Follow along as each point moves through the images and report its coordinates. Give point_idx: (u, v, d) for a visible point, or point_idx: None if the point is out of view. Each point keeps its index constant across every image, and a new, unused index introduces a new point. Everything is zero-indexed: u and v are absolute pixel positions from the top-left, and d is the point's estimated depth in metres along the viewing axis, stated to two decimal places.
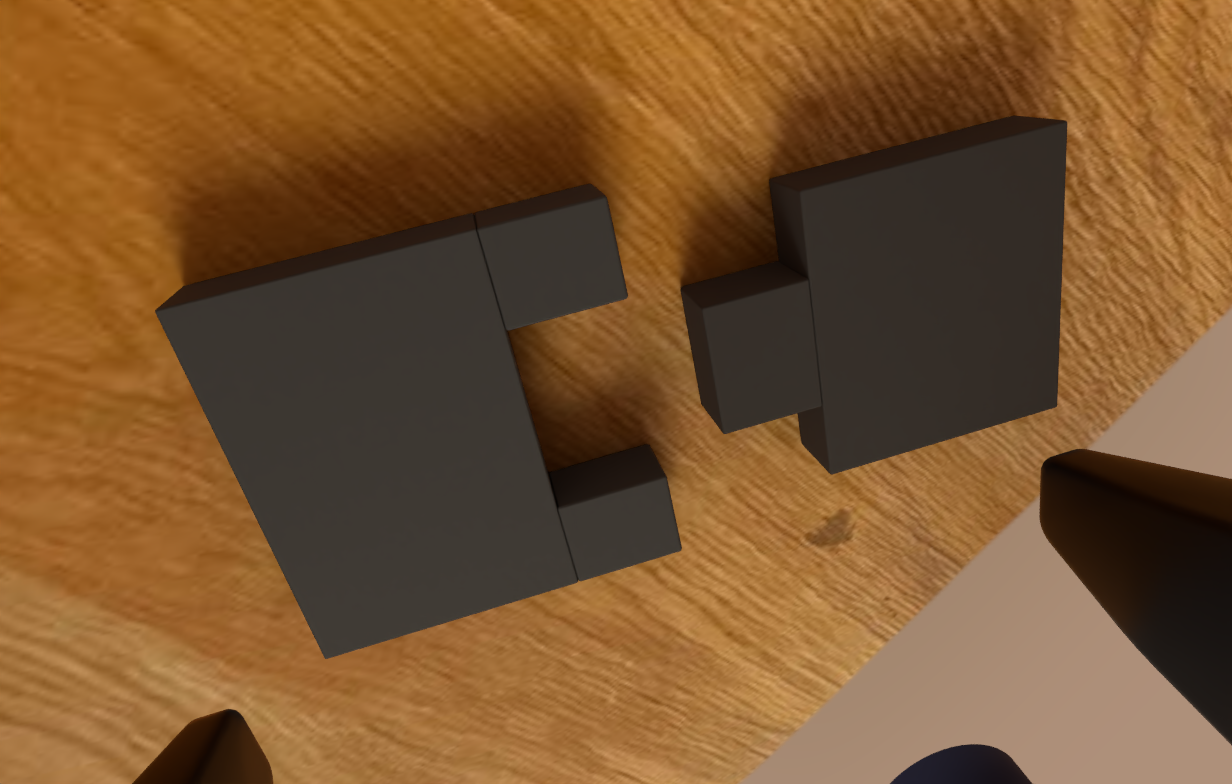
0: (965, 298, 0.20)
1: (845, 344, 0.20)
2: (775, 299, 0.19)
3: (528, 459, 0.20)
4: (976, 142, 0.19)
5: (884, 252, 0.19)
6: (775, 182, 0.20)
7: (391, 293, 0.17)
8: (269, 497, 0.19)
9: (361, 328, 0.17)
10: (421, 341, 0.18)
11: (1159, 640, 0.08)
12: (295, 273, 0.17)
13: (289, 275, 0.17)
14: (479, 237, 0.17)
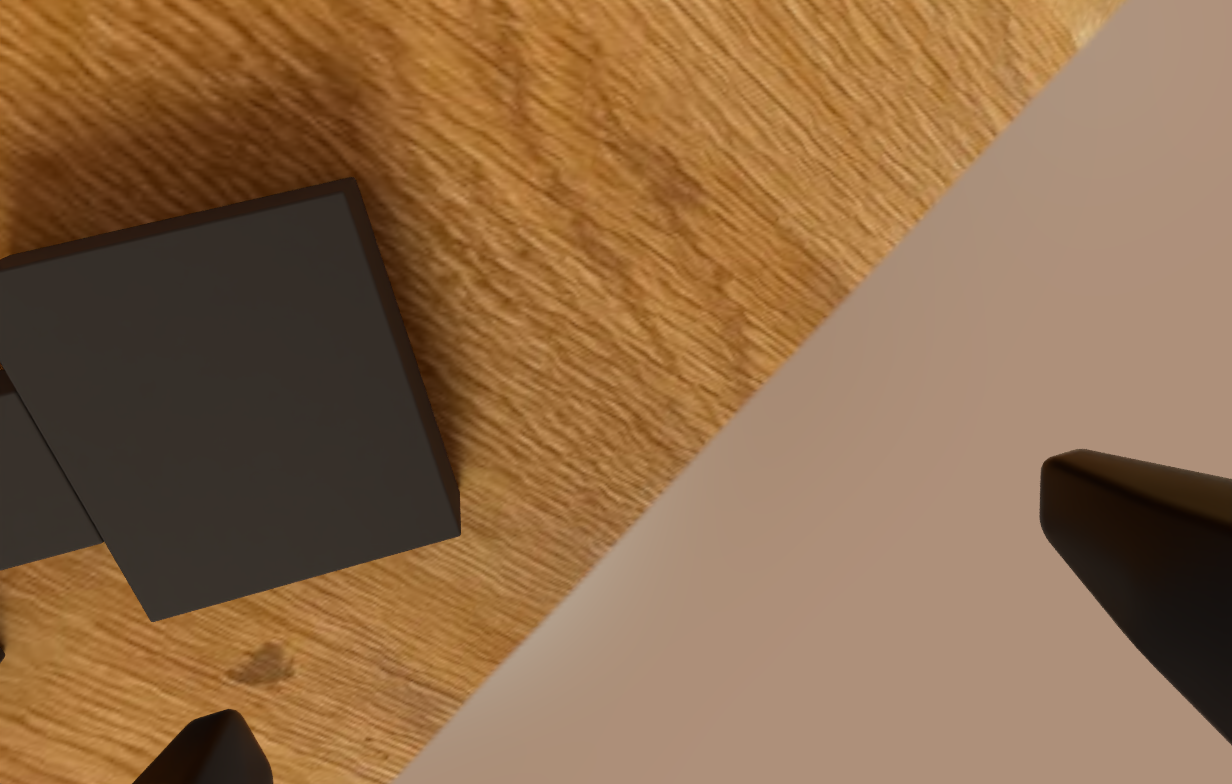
0: (270, 411, 0.16)
1: (105, 469, 0.16)
2: None
3: None
4: (218, 218, 0.14)
5: (121, 357, 0.15)
6: None
7: None
8: None
9: None
10: None
11: (1160, 640, 0.08)
12: None
13: None
14: None
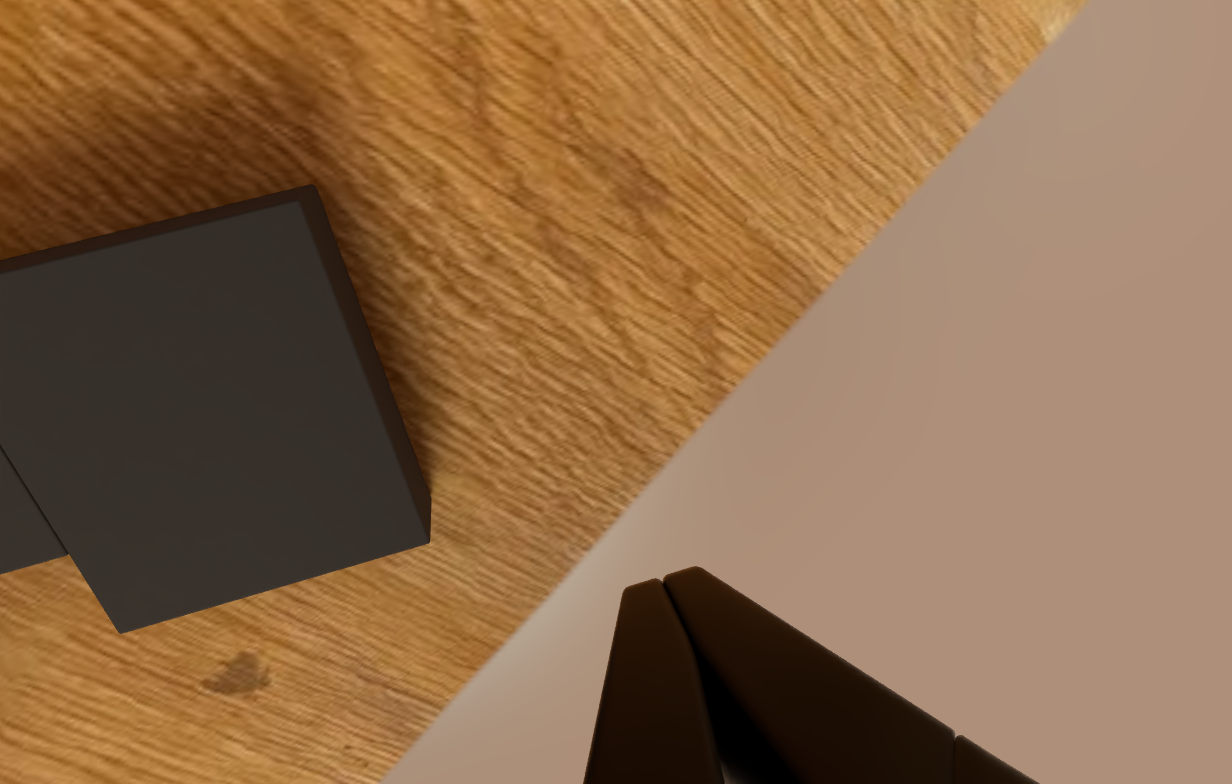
0: (232, 421, 0.16)
1: (67, 481, 0.16)
2: None
3: None
4: (172, 228, 0.14)
5: (79, 369, 0.15)
6: None
7: None
8: None
9: None
10: None
11: None
12: None
13: None
14: None
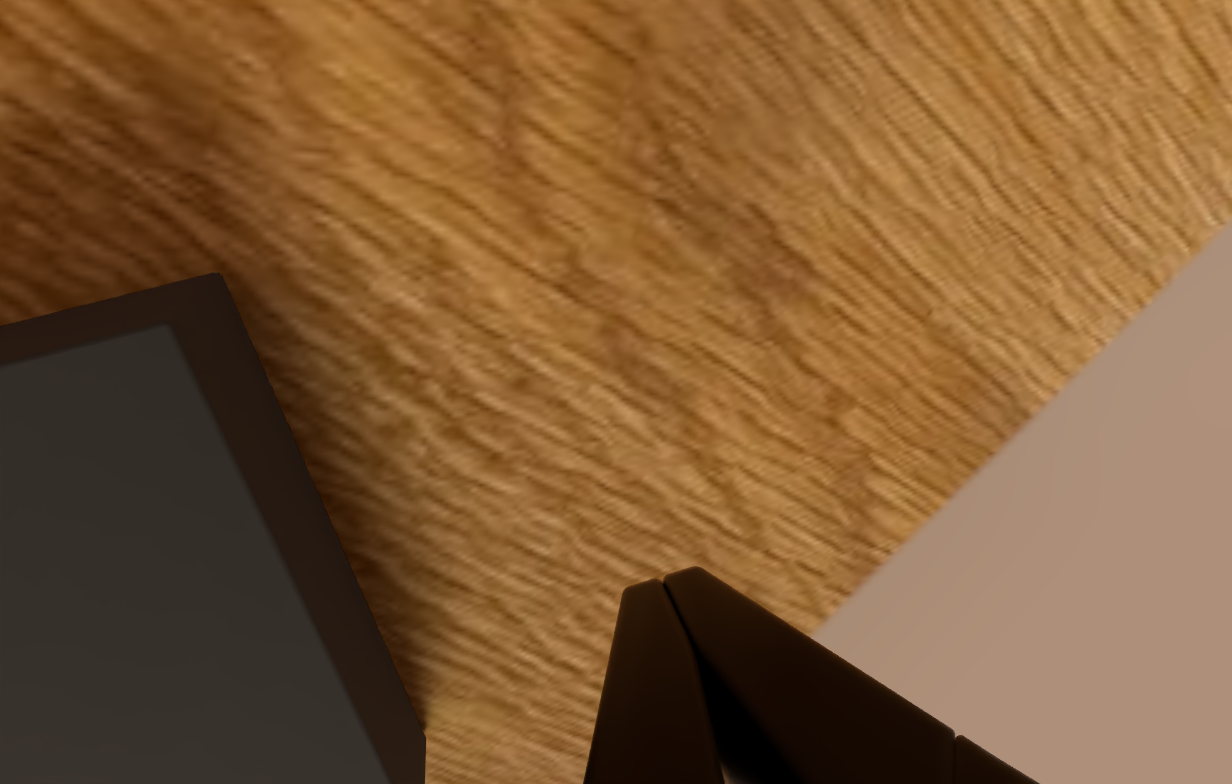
0: (69, 698, 0.09)
1: None
2: None
3: None
4: None
5: None
6: None
7: None
8: None
9: None
10: None
11: None
12: None
13: None
14: None
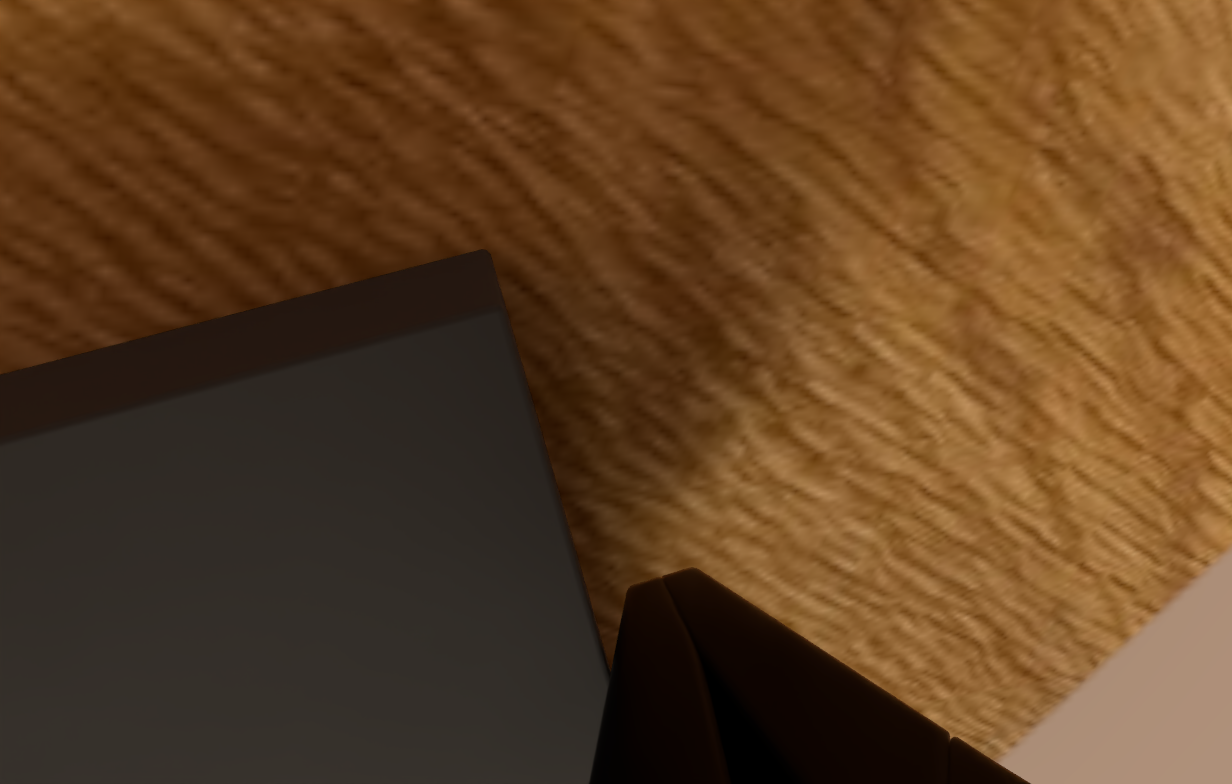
0: (316, 779, 0.07)
1: None
2: None
3: None
4: (186, 382, 0.06)
5: None
6: None
7: None
8: None
9: None
10: None
11: None
12: None
13: None
14: None
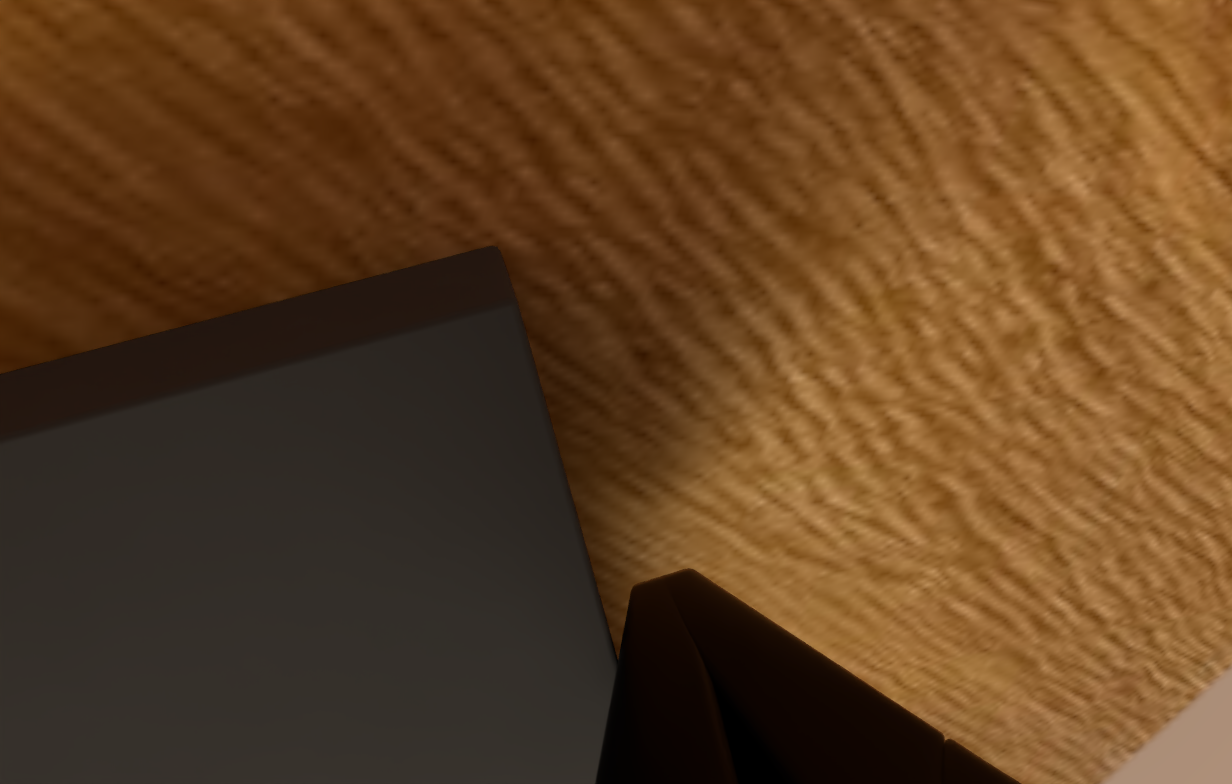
0: (328, 773, 0.07)
1: None
2: None
3: None
4: (202, 376, 0.06)
5: None
6: None
7: None
8: None
9: None
10: None
11: None
12: None
13: None
14: None
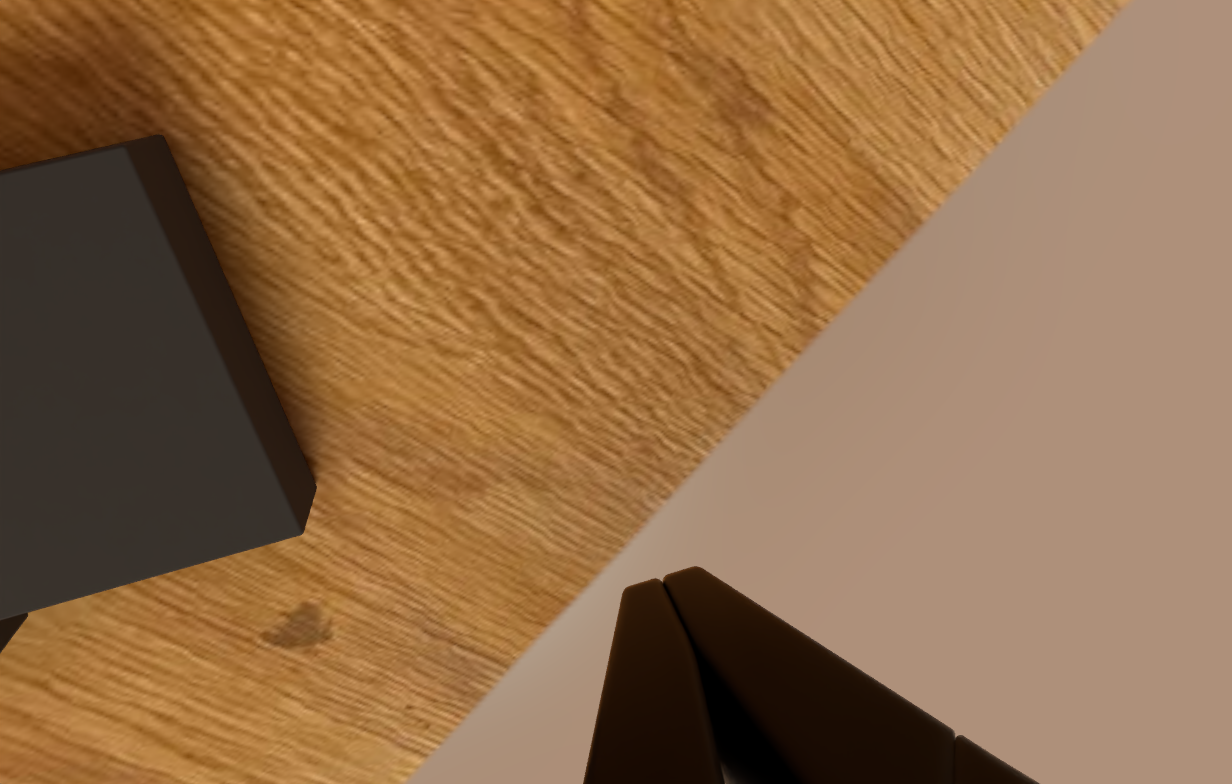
0: (65, 396, 0.14)
1: None
2: None
3: None
4: None
5: None
6: None
7: None
8: None
9: None
10: None
11: None
12: None
13: None
14: None
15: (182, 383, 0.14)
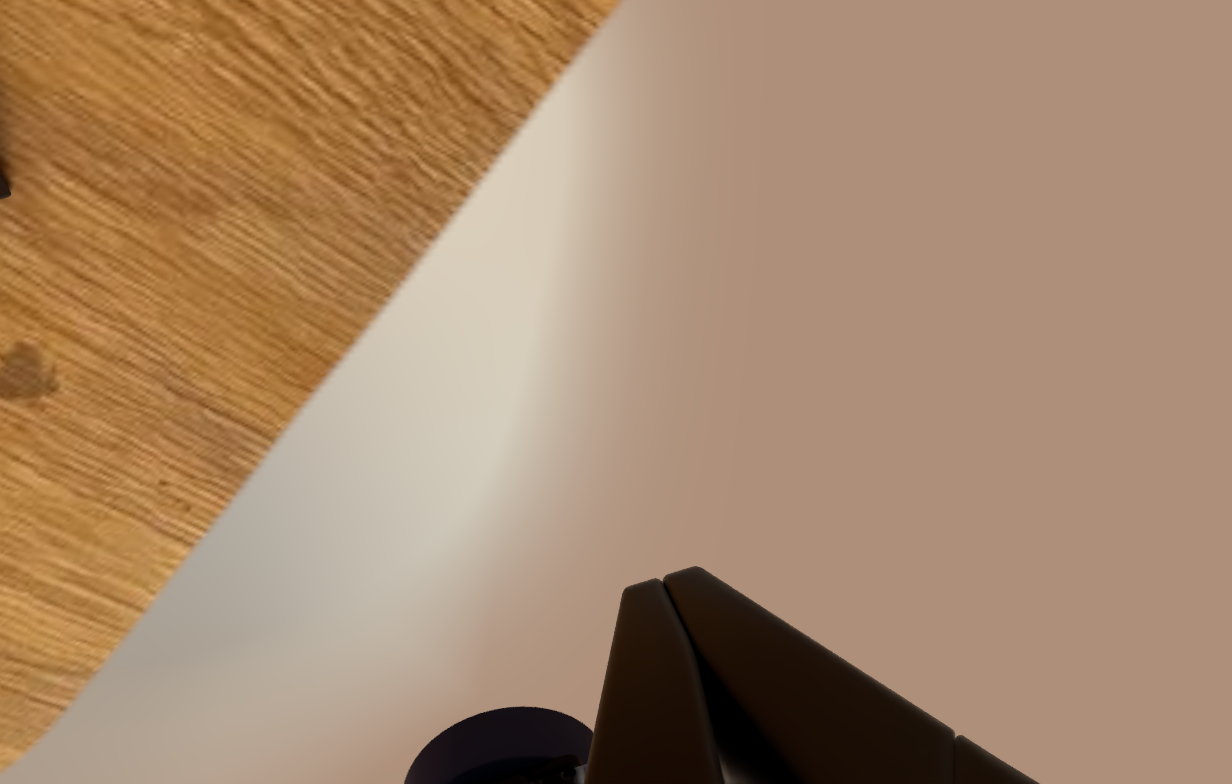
0: None
1: None
2: None
3: None
4: None
5: None
6: None
7: None
8: None
9: None
10: None
11: None
12: None
13: None
14: None
15: None
